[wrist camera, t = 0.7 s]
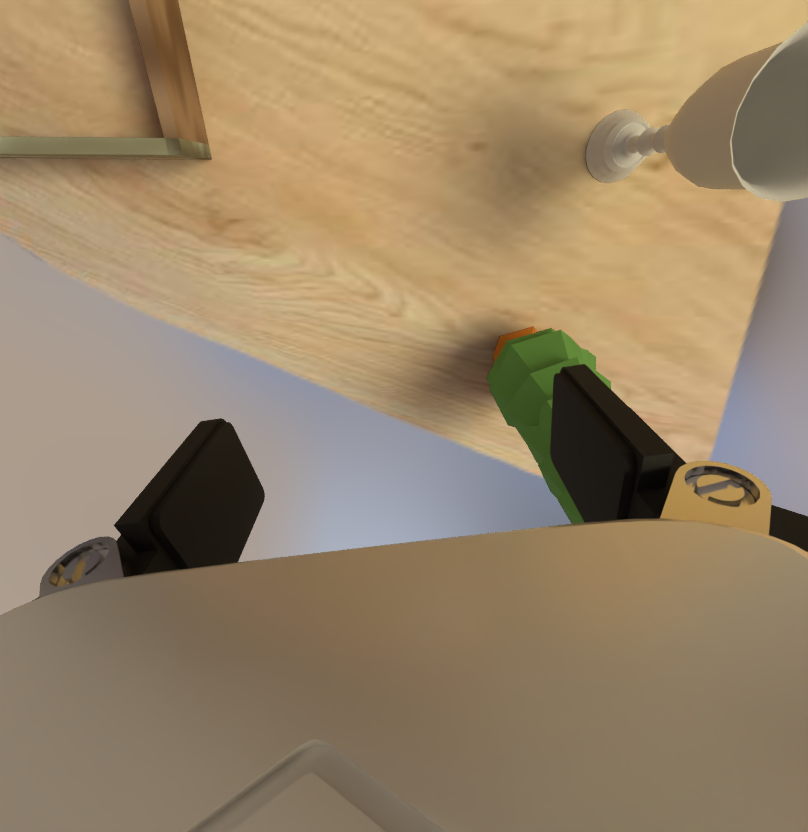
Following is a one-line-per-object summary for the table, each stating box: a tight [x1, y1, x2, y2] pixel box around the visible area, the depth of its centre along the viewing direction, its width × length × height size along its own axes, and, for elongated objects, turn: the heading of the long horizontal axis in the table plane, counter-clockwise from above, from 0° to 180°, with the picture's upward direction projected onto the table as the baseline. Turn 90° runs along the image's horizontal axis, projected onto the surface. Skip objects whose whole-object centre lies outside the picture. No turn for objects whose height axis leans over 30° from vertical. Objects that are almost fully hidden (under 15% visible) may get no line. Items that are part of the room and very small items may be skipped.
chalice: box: [586, 22, 808, 202], centre depth 24 cm, size 7×7×18 cm
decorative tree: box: [487, 327, 611, 524], centre depth 28 cm, size 10×9×30 cm
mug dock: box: [0, 0, 212, 159], centre depth 27 cm, size 12×20×5 cm, turn 90°
